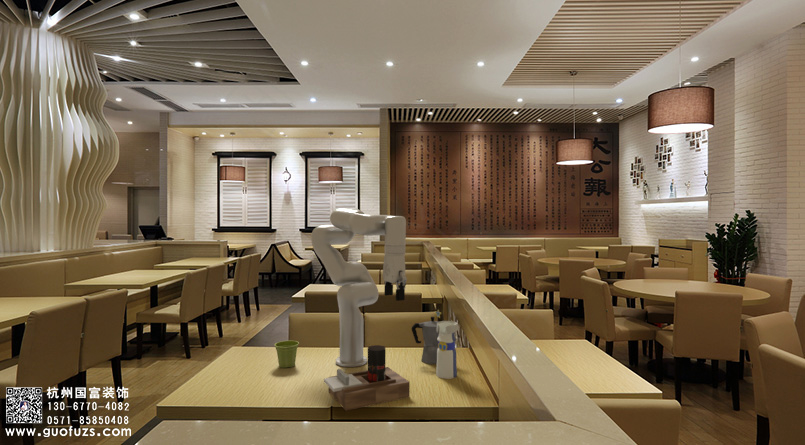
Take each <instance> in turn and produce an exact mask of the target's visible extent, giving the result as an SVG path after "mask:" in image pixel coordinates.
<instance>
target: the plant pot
mask: <svg viewBox="0 0 805 445" xmlns="http://www.w3.org/2000/svg"><path fill="white" fill-rule="evenodd" d="M299 344H300V342H299V341H297V340H282V341H278V342H275V343H274V345H273V346H274V347H275V350H276V354H277V356H276V357H277V361H278V366H279V368H282V369H286V368H292V367H293V368H294V366H295V365H296V359H297V352H298V351H297V350H298V346H299Z"/></svg>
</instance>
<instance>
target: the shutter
mask: <svg viewBox="0 0 805 445" xmlns="http://www.w3.org/2000/svg"><path fill="white" fill-rule="evenodd" d="M335 376H336V377H332V376H329V377H330V378H329V377H325V378H324V377H323V383H324V384H326V386H327V387H328V389H329V388H330V389H331V390H332V391H333V392H336V391H341V390H342V388H347V387H352V386H358V385H362V382H360V381H359V380H358V379H357V378H356V377H355V376H353V375H352V374H349V373H345V372H344V371H343V370H342V369H341V368H338V369H336V375H335Z"/></svg>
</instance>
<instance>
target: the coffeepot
mask: <svg viewBox="0 0 805 445" xmlns="http://www.w3.org/2000/svg"><path fill="white" fill-rule="evenodd" d="M435 318H436V317H435V316H430V321H429V320H428V321H423V322H417V323H414V324H413V325H412V326H411V333H412V336H413V338H414V341H415V344H421V343H422V340H423V341H424V343H423V350H422V355H421V362H422V363H425V364H427V365H437V350H438V340H437V338H438V337H439V328H438V333H437V323H438V322H439V321H437V320H435ZM416 329H421V330H422V338H423V339H422V340H419V337H418V333H417V330H416Z"/></svg>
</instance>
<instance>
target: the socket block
mask: <svg viewBox="0 0 805 445" xmlns="http://www.w3.org/2000/svg"><path fill="white" fill-rule="evenodd" d="M348 374H352V375H353V376H355V377H356V378H357V379H358V380H359V381H360V382H362V385H358V386H352V387H347V388H342V390H341V391H336V392H333V391H332V390H331V389H330V388H329V387H328V393H329V394H330V396H331V397H332V398H333V399H334V400H335V401H336V402H337V403H338V404H339V405H340V404H341V405H342V406H343V407H342V406H341V405H340V406H341V407H342V409H344V411H345V412H346V411H351V410H352V411H353V410H356V409H360V408H365V406H366V407H370V406H375V405H380V404H384V403H389V402H393V401H397V400H401V399H407V398H410V380H407V379H406V378H405V377H403V376H402V375H400V374H399V373H397V372H396V371H395V370H393V369H392V368H390V367H389V366H385V380H384V381H379V382H374V383H369V382H368V369H367V370H360V371H357V372H350V373H348ZM336 376H337V375H334V376H329V377H328V378H330V377H336ZM369 405H370V406H369Z"/></svg>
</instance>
